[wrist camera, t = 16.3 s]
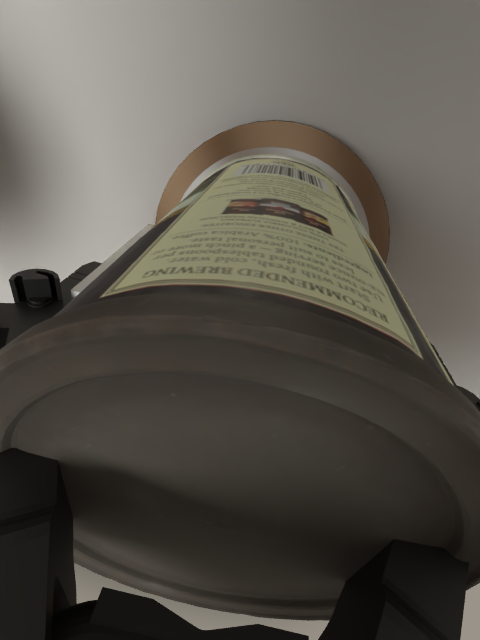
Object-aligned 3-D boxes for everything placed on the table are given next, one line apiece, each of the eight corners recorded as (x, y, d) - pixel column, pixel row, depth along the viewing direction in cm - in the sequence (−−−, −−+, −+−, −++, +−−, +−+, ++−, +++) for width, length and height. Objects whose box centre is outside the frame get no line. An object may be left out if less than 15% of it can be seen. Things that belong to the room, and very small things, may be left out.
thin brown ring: (331, 56, 14) (336, 51, 13) (410, 290, 20) (419, 305, 18) (120, 201, 19) (106, 208, 18) (231, 355, 25) (227, 370, 23)
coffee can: (212, 342, 22) (122, 610, 10) (145, 188, 17) (-189, 381, 5) (372, 315, 19) (494, 645, 7) (351, 120, 14) (648, 208, 2)
